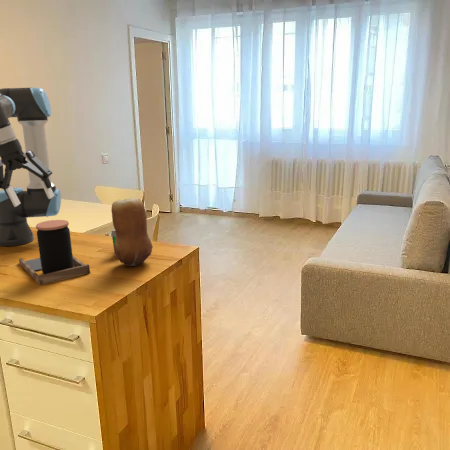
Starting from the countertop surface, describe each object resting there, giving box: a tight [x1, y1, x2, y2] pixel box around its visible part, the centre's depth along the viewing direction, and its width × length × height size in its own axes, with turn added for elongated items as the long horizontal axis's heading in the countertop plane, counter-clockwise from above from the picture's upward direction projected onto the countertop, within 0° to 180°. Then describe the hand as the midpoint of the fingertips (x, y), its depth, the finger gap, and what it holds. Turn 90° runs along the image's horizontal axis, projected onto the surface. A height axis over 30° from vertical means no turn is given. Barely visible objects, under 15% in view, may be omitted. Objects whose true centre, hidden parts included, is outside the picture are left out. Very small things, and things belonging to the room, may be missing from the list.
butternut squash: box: [110, 197, 154, 267], centre depth 160 cm, size 14×13×25 cm
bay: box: [18, 255, 91, 286], centre depth 162 cm, size 28×17×3 cm, turn 37°
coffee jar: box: [35, 219, 75, 275], centre depth 156 cm, size 11×11×18 cm
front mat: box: [24, 257, 42, 272], centre depth 168 cm, size 13×15×1 cm
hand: (34, 201), depth 150 cm, fingers open, 13 cm apart
